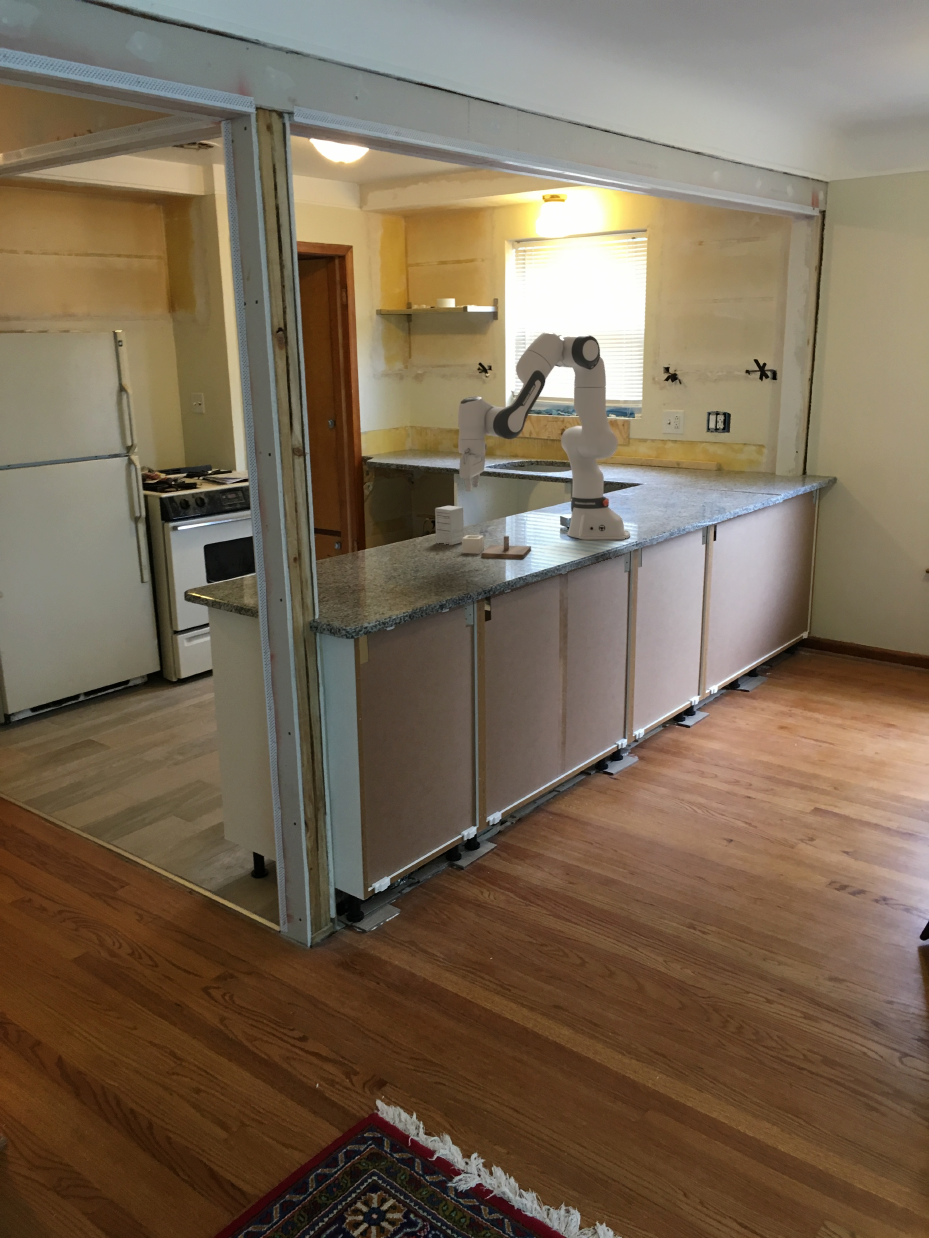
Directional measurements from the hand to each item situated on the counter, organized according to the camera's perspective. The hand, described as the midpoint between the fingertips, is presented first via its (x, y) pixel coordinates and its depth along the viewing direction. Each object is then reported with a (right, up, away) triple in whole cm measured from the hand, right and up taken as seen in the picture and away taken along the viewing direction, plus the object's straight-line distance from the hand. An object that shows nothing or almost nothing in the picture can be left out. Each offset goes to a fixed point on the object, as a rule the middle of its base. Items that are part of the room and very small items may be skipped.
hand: (472, 489), depth 332 cm
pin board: (+11, -22, +1) cm, 24 cm away
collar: (0, -20, +6) cm, 21 cm away
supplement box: (-8, -16, +22) cm, 28 cm away
